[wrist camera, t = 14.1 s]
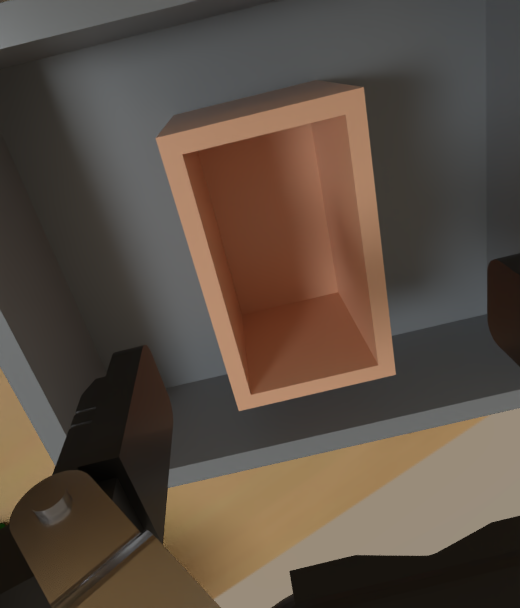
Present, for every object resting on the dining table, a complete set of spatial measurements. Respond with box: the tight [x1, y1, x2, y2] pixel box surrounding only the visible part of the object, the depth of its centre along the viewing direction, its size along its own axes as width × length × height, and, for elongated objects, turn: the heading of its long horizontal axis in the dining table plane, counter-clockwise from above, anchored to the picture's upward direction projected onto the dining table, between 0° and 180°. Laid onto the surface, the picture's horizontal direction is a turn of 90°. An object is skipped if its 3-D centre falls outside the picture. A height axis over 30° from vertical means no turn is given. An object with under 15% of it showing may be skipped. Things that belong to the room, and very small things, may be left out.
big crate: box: [0, 0, 520, 488], centre depth 20 cm, size 18×22×7 cm
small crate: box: [156, 80, 396, 411], centre depth 19 cm, size 10×6×7 cm, turn 12°
